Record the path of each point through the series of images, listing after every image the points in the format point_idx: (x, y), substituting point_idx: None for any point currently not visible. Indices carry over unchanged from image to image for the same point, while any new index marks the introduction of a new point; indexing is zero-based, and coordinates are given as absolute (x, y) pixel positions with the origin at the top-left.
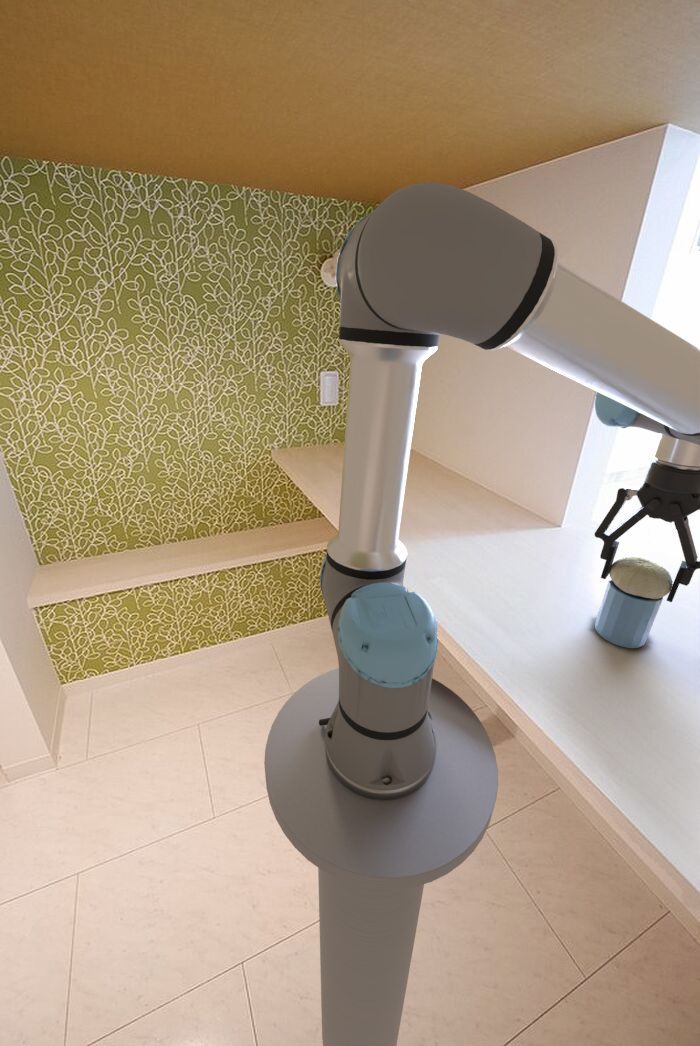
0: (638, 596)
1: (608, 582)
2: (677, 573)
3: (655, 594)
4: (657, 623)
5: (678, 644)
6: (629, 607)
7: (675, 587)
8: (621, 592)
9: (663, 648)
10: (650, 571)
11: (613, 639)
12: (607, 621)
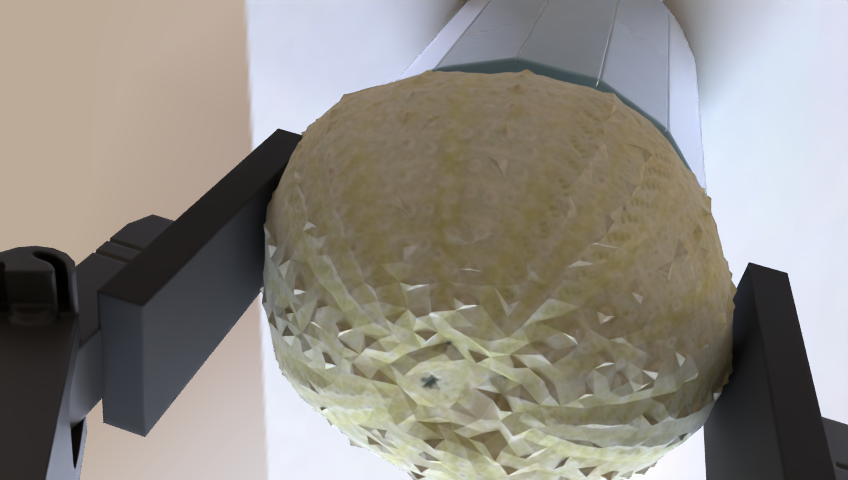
0: None
1: None
2: (184, 263)
3: (375, 88)
4: None
5: (300, 130)
6: (553, 35)
7: (230, 188)
8: None
9: (359, 61)
10: (410, 268)
11: None
12: (660, 29)
